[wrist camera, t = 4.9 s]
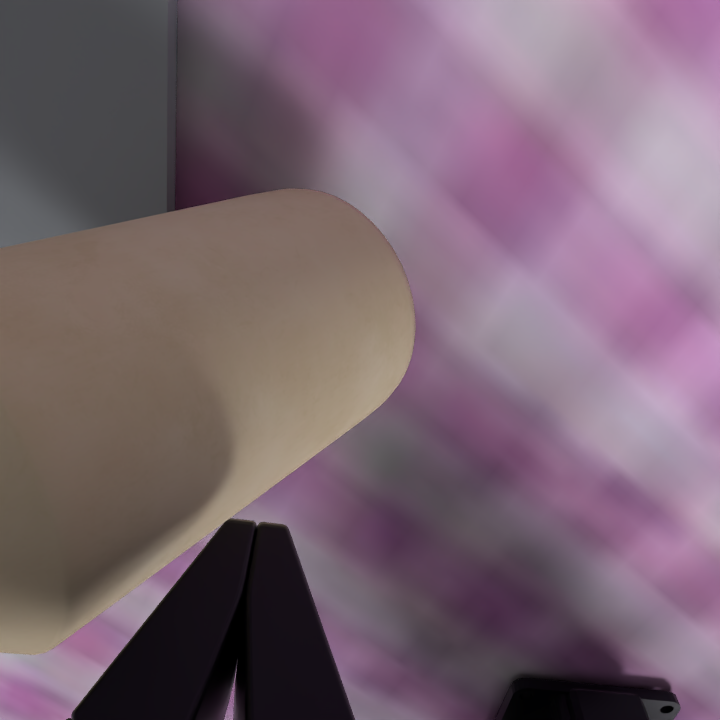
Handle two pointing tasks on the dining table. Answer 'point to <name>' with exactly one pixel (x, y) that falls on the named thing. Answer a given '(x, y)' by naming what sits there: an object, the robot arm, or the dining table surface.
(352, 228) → the candle
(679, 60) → the dining table surface
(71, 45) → the rubber mat
